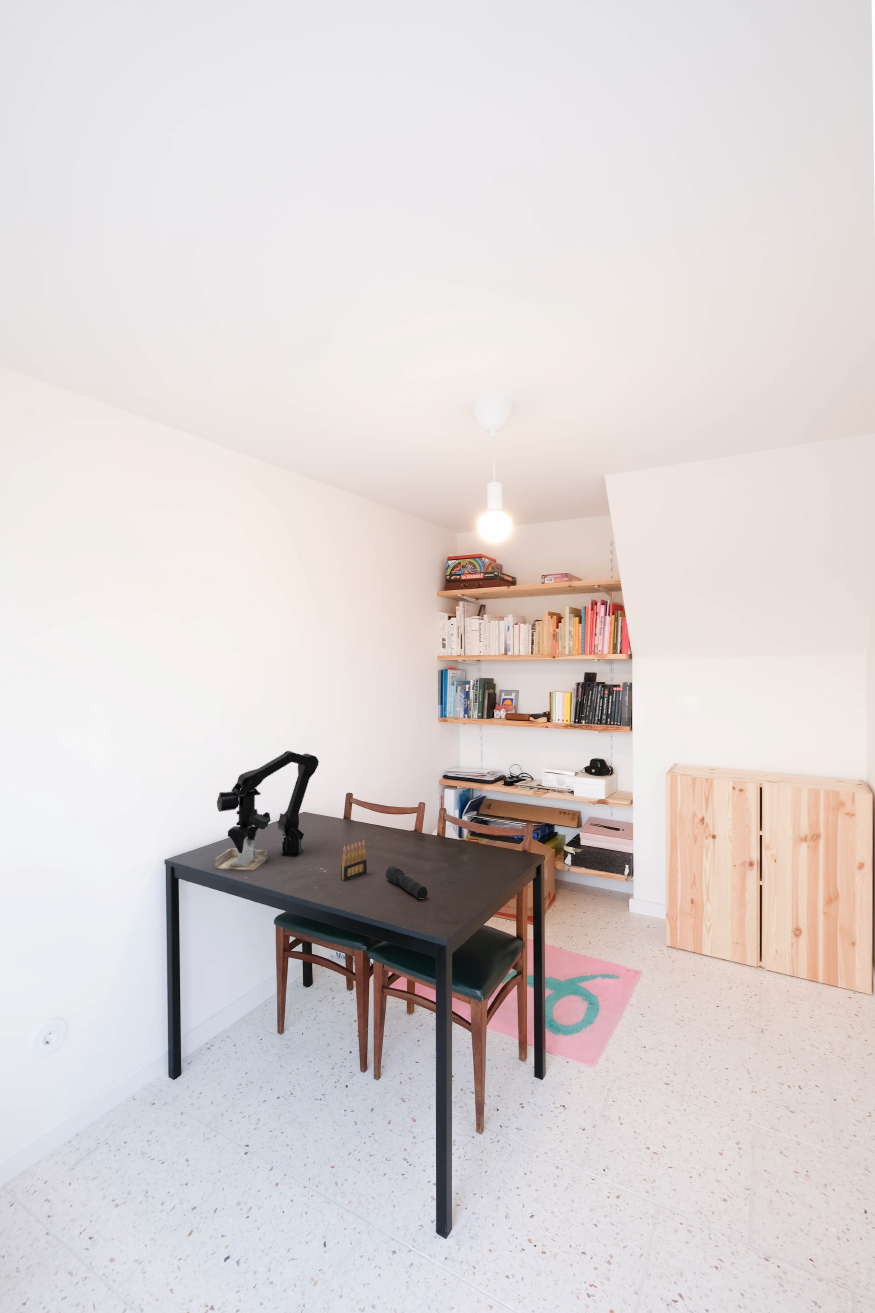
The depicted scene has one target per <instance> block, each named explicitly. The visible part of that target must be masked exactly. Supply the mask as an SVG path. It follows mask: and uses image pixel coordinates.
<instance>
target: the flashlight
mask: <svg viewBox="0 0 875 1313" xmlns="http://www.w3.org/2000/svg"><path fill="white" fill-rule="evenodd" d="M385 877H386V879H387V880H388V881H389V882H391V884H394V885H396V886H401V888H402V889H404V890H405V891H406V892H408V893H409V894H412V895H413V896H415V898H416V899H418V900H420V899H419V898H424V899H426V897H427V896H428V894H429V893H428V892H429V891H428V889H427V887H426V886H424V885H422V884H420V883H419V882H418V881H416V880H414V879H413V878H411V877H409V876H407V875H406V873H405V872H404V871H403V870H401V869H400V868H399V867H396V866H393V865H391V866H389V867H387V869H386V871H385Z"/></svg>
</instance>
